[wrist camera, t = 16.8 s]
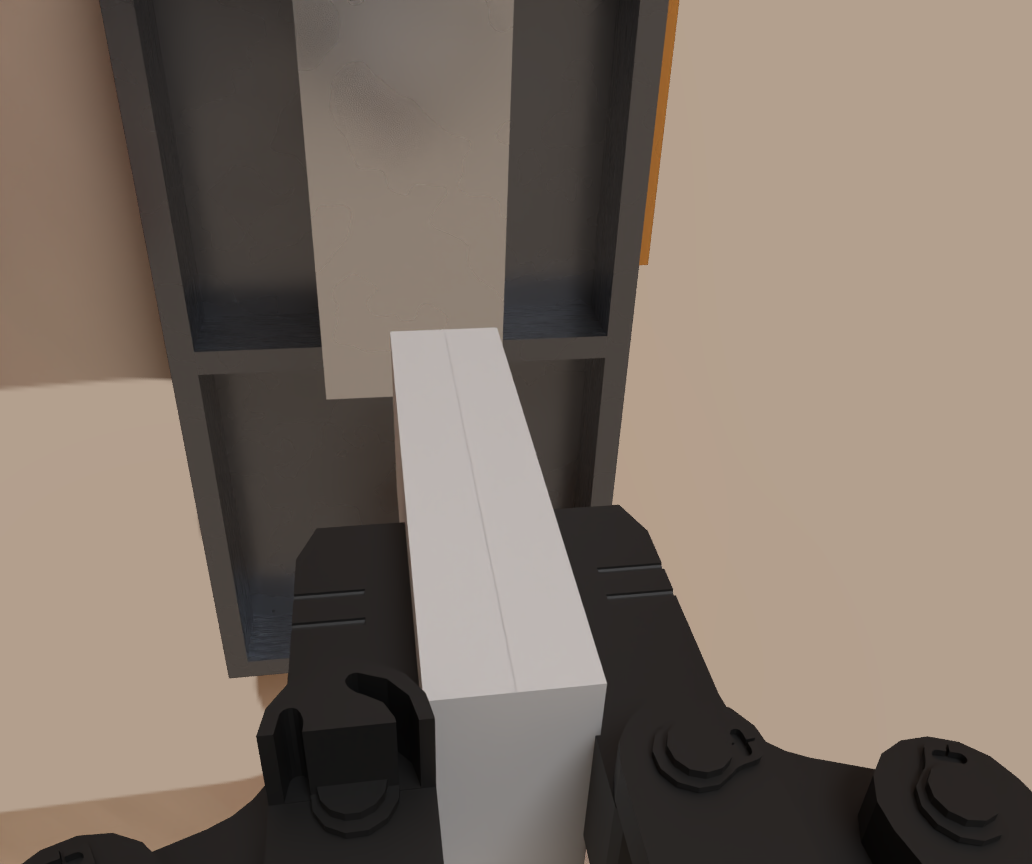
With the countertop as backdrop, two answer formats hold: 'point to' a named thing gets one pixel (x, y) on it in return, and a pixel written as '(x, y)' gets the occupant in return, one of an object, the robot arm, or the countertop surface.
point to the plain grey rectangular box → (404, 172)
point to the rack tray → (292, 278)
